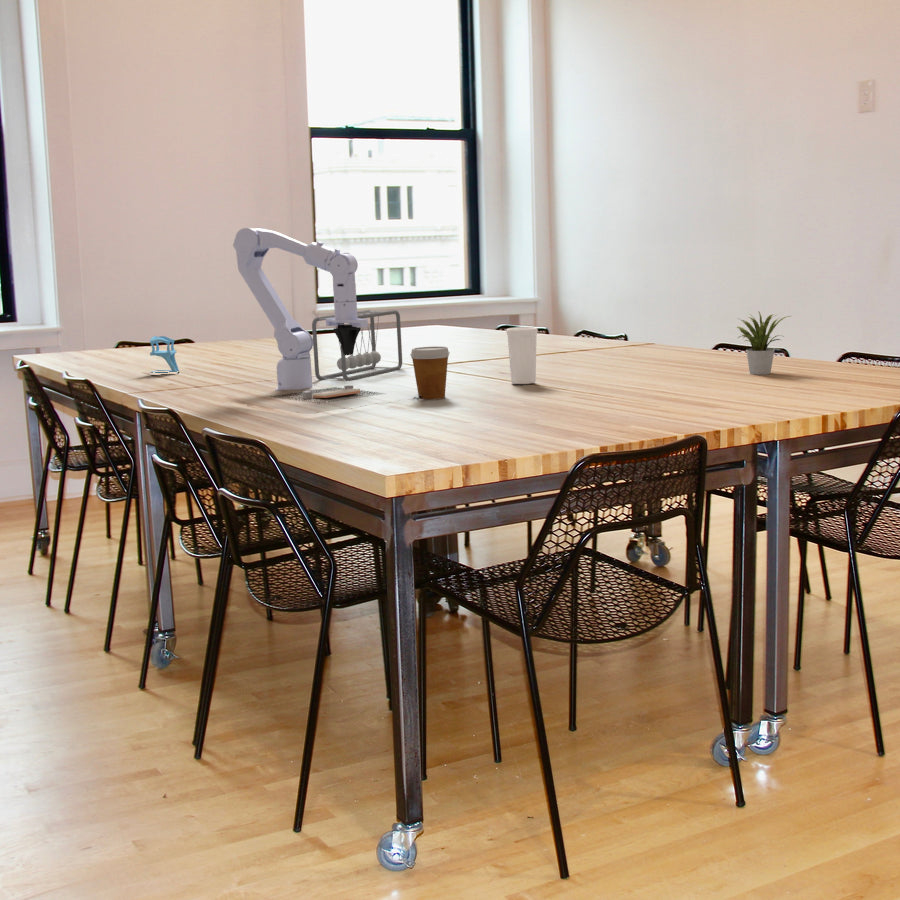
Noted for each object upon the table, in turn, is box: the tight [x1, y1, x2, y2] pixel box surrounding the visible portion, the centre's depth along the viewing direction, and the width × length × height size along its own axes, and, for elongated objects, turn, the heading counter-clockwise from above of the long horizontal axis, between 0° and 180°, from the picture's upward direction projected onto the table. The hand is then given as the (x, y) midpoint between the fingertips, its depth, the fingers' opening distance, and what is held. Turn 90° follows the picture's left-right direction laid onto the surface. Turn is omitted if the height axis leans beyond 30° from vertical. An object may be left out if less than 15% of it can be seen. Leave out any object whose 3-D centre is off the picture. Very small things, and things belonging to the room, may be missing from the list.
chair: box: [149, 335, 180, 373], centre depth 343 cm, size 8×8×12 cm
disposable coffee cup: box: [409, 346, 450, 401], centre depth 266 cm, size 10×10×12 cm
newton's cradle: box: [311, 309, 403, 382], centre depth 319 cm, size 30×10×18 cm, turn 150°
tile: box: [312, 388, 361, 399], centre depth 270 cm, size 1×10×6 cm
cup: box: [506, 326, 539, 385], centre depth 284 cm, size 8×8×14 cm
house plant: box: [736, 311, 791, 376], centre depth 285 cm, size 14×14×16 cm
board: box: [270, 384, 386, 404], centre depth 273 cm, size 22×20×3 cm
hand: (348, 354), depth 284 cm, fingers closed
